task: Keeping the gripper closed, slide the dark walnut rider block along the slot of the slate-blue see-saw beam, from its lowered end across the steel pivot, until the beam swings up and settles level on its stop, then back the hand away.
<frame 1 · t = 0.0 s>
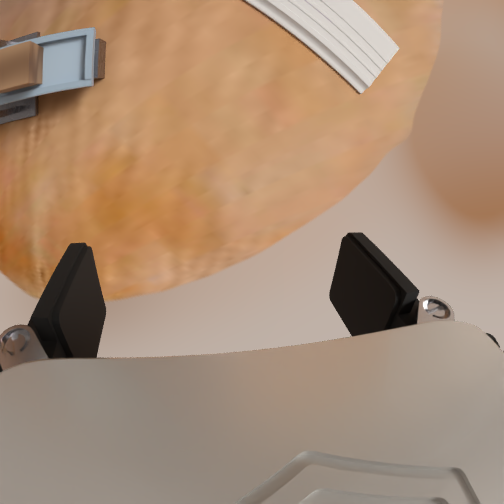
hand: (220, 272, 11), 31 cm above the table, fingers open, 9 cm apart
stand: (14, 79, 27), on the table
rider: (23, 70, 22), point 7 cm above the table, tilted 12°, touching beam
baseboard molding: (294, 2, 31), on the table
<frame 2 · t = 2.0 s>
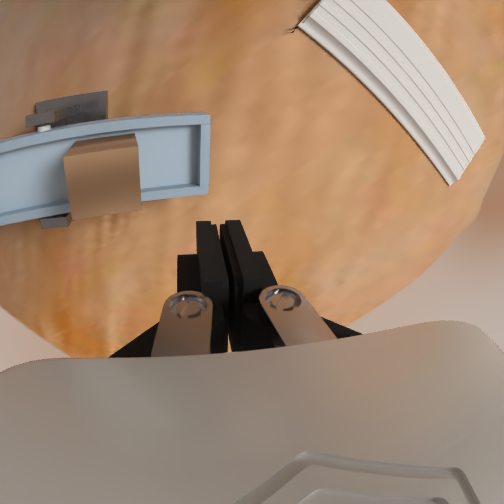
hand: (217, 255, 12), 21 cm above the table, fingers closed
stand: (74, 151, 27), on the table
beam: (47, 171, 21), point 8 cm above the table, hinge at -12.1°, touching rider
rider: (106, 162, 23), point 7 cm above the table, tilted 12°, touching beam
baseboard molding: (407, 88, 31), on the table
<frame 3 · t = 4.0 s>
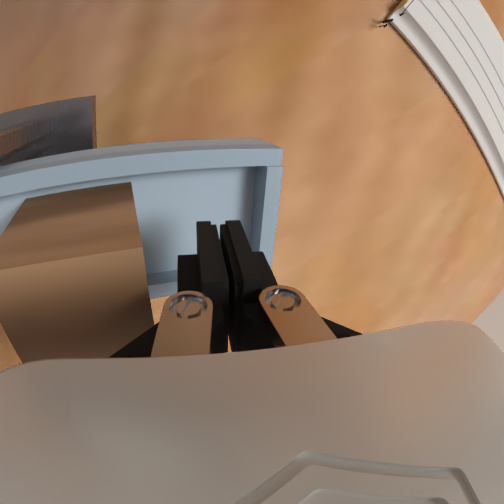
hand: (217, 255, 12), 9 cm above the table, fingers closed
stand: (47, 191, 17), on the table
rider: (83, 235, 13), point 7 cm above the table, tilted 12°, touching beam, gripper
baseboard molding: (493, 116, 21), on the table
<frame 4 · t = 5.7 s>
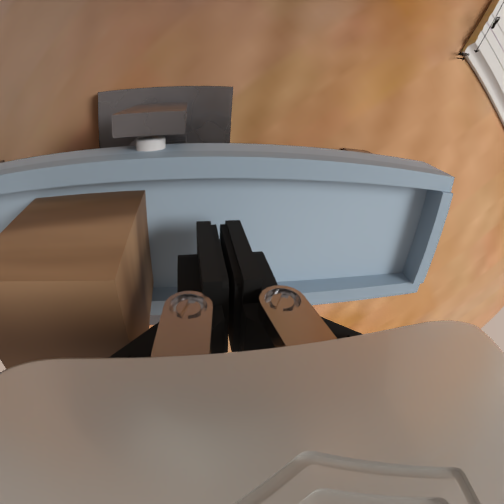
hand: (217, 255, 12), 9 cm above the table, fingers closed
stand: (164, 179, 19), on the table
beam: (153, 233, 13), point 8 cm above the table, hinge at 0.2°, touching rider
rider: (93, 241, 12), point 8 cm above the table, touching beam, gripper
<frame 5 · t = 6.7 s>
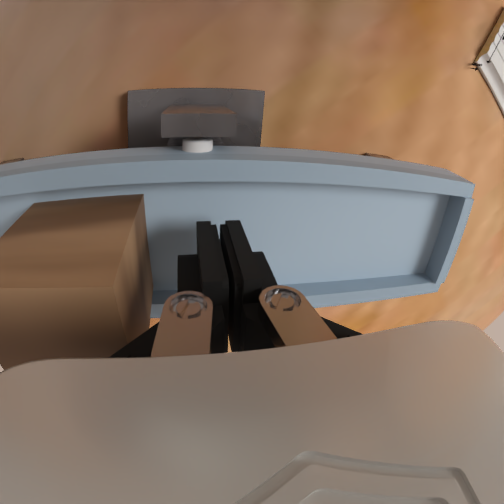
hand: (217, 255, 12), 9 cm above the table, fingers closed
stand: (193, 180, 19), on the table
beam: (197, 234, 13), point 8 cm above the table, hinge at 0.2°
rider: (93, 246, 12), point 8 cm above the table, touching gripper
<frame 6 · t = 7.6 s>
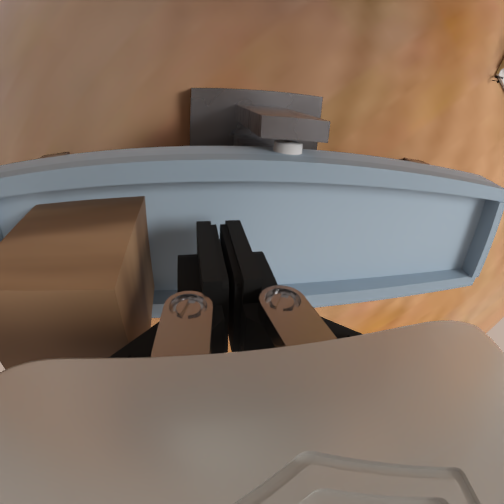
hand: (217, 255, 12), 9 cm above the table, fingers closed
stand: (250, 180, 20), on the table
beam: (282, 232, 14), point 8 cm above the table, hinge at 0.4°, touching rider
rider: (94, 247, 12), point 8 cm above the table, touching beam, gripper
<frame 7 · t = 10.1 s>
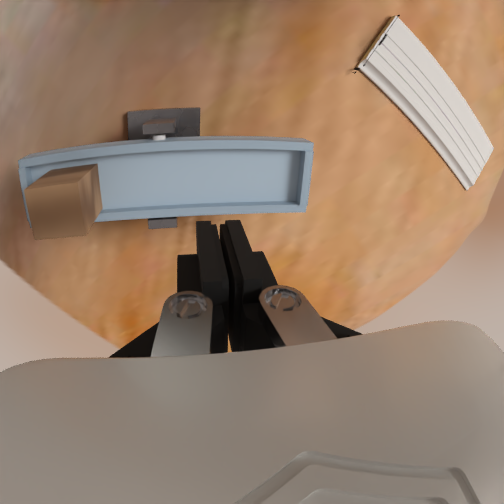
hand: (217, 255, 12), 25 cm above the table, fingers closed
stand: (164, 159, 34), on the table
beam: (159, 177, 27), point 8 cm above the table, hinge at 0.2°, touching rider
rider: (76, 188, 25), point 8 cm above the table, touching beam
baseboard molding: (435, 114, 38), on the table
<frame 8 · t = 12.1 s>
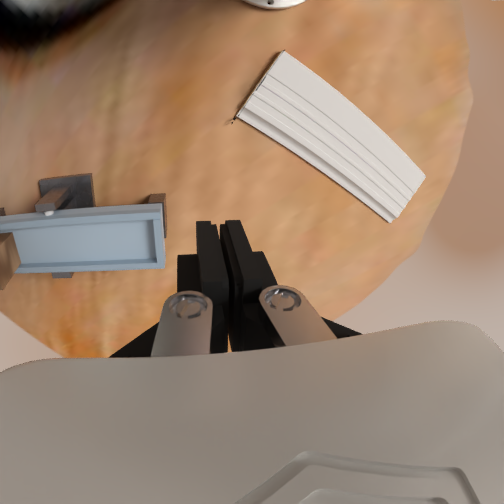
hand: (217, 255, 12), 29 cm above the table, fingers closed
stand: (71, 216, 38), on the table
beam: (53, 242, 32), point 8 cm above the table, hinge at 0.2°, touching rider
rider: (2, 248, 30), point 8 cm above the table, touching beam
baseboard molding: (341, 148, 42), on the table
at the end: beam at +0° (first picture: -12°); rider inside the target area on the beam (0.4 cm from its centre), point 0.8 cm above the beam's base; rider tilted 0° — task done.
